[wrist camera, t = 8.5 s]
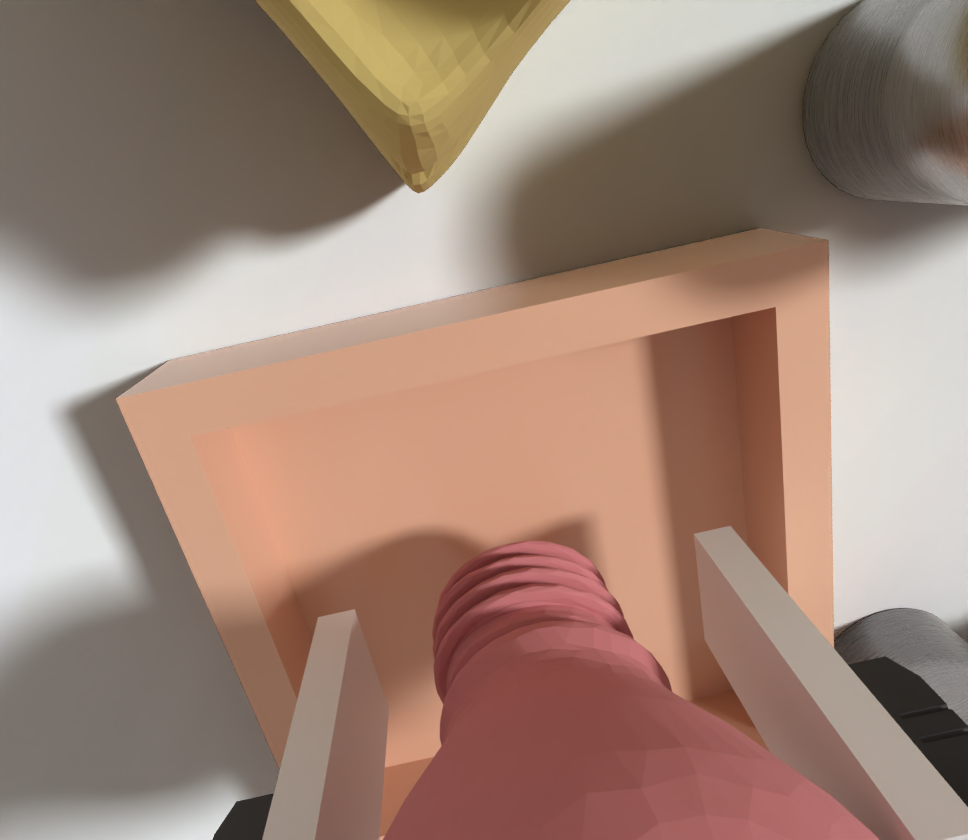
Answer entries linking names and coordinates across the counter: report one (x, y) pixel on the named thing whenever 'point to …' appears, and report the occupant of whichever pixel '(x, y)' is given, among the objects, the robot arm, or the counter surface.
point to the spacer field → (897, 177)
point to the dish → (504, 464)
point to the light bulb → (584, 726)
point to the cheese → (415, 67)
